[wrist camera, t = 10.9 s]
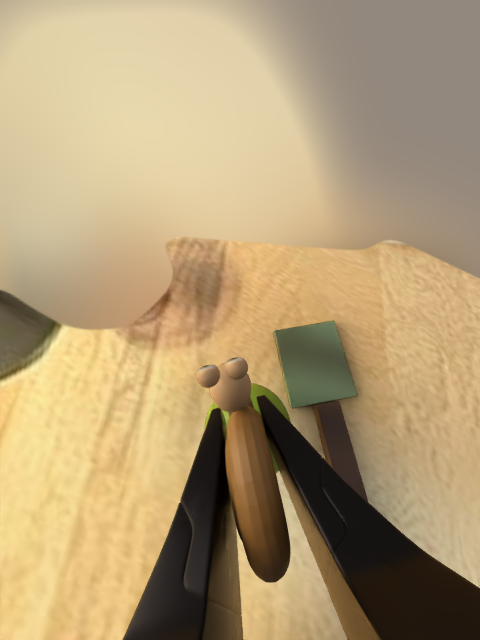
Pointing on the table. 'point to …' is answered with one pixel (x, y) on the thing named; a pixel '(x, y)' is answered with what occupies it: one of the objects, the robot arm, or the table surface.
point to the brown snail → (250, 467)
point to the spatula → (321, 389)
